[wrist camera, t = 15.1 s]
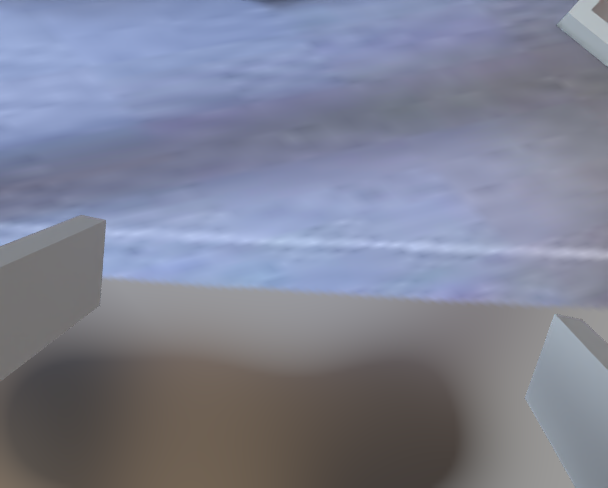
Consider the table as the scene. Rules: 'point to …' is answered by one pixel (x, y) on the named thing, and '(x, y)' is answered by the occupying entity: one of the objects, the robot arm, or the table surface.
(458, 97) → the table surface
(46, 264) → the robot arm
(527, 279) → the table surface
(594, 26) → the tray
